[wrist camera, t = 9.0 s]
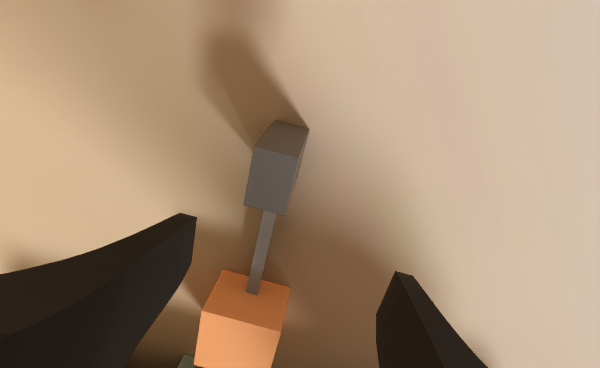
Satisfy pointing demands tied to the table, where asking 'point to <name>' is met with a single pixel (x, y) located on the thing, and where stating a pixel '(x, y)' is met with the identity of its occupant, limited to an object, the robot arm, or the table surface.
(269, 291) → the orange and grey rod
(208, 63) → the table surface
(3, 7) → the table surface
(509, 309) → the table surface
